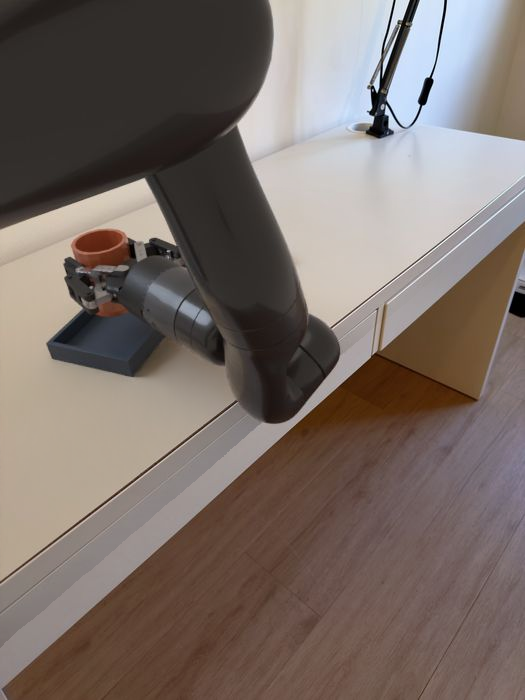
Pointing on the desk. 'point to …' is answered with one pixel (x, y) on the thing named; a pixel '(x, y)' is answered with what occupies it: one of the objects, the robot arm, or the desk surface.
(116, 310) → the tumbler
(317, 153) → the desk surface
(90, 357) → the tray
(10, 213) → the robot arm
